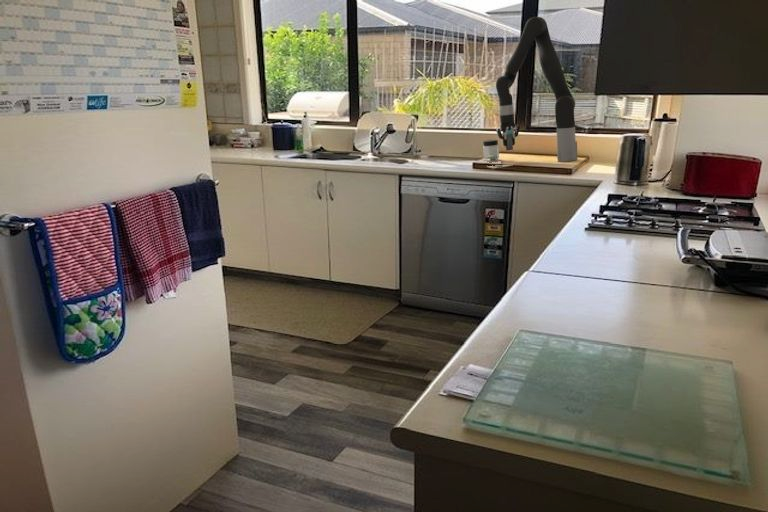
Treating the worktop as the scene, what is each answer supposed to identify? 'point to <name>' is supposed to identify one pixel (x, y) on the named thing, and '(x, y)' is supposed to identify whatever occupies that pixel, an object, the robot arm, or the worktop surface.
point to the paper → (498, 166)
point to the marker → (509, 140)
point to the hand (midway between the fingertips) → (509, 145)
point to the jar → (490, 148)
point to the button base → (493, 160)
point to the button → (492, 157)
